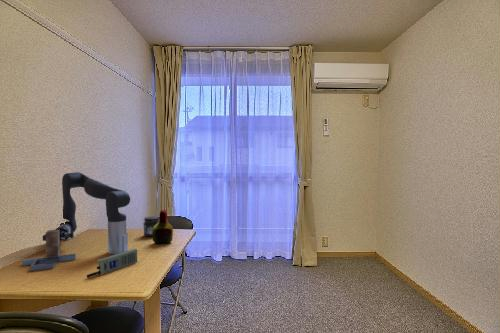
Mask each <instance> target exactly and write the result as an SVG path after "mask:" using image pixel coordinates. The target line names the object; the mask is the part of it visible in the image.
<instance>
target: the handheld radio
mask: <svg viewBox="0 0 500 333" xmlns="http://www.w3.org/2000/svg"><path fill="white" fill-rule="evenodd" d="M96 261H97V262H96V264H97V265H98V266H96V270H97V271H95V272H92V273H89V274H86V278H87V279H89V278H91V277H94V276H97V275H100V276H101V275H102V276H103V275H106V274H108V273H111V272H113V271H116V270H119V269H122V268H125V267H127V266H131V265H134V264H136V263H138V249H137V248H133V249H130V250H129V249H128V250H127V251H126V252H122V253H119V254H112V255H110V256H107V257H103V258H100V259H97V260H96Z"/></svg>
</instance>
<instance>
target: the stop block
mask: <svg viewBox="0 0 500 333" xmlns="http://www.w3.org/2000/svg"><path fill="white" fill-rule="evenodd" d="M45 234H46V241H45V254H46V256H45V257H50V256H59V255H61V248H60V247H61V242H60V229H59V230H55V229H50V230H47V231H46V232H45Z"/></svg>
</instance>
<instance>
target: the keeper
mask: <svg viewBox="0 0 500 333" xmlns="http://www.w3.org/2000/svg"><path fill="white" fill-rule="evenodd" d="M76 260H77V253H70V254H69V253H68V254H60V255H59V256H50V257H46V256H41V257H33V258H32V257H31V258H23V259H22V265H21V266H30V272H37V271H47V270H53V269H55V267H56V265H57V264H58V263H59V262H67V261H69V262H70V261H76Z"/></svg>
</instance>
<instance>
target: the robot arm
mask: <svg viewBox="0 0 500 333" xmlns="http://www.w3.org/2000/svg"><path fill="white" fill-rule="evenodd" d="M61 186H62V187H61V188H62V202H63V203H62V211H63V218H62V219H64V220H65V221H66V222H65V224H64V223H61V224H60V226H59V227H58V228H57V227H56V228H55V229H54V230H59V229H60V241H67V240H68V239H73V238H74V237H75V236H74V235H75V232H76V231H77V228H78V226H77V221H76V210H77V204H76V202H75V200H74V199H73V197H72V195H71V189H75V188H83V191H84V193H85V194H87V195H88V196H89V197H92V198H95V199H98V200H99V199H100V200H105V211H106V217H107V253H108V254H109V255H116V254H119V253H122V252H126V251H129V236H128V235H129V234H128V232H127V215H126V214H124V213H121V212H120V211H119V209H120V208H121V209H122V208H124V207H127V206H128V205H129V204H130V202H131V196H130V194H129V193H128V192H127V191H126V190H122V189H118V188H116V187H115V188H114V187H112V186H110V185H108V184H105V183H103V182H101V181H98V180H95V179H93V178H90V177H89V176H87V175H85V174H84V173H82V172H78V171H77V172H67V173H64V174H63V176H62V180H61ZM42 241H44V242H46V233H44V235H43V234H42Z"/></svg>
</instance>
